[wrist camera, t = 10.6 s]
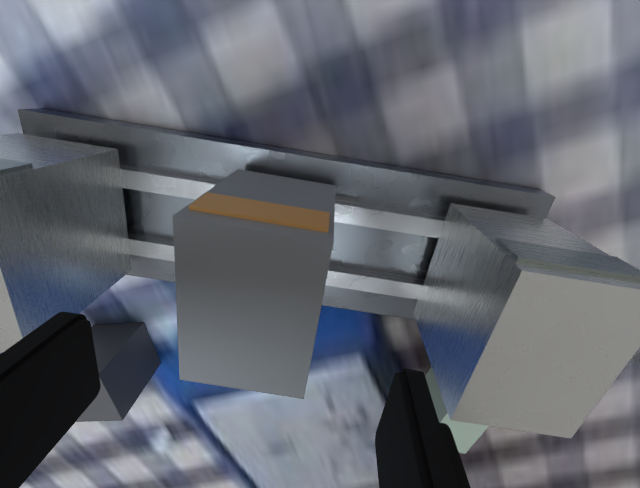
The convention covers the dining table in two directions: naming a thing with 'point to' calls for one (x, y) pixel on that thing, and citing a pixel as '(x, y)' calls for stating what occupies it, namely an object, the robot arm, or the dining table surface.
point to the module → (252, 281)
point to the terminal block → (461, 431)
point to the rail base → (334, 257)
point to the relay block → (120, 369)
